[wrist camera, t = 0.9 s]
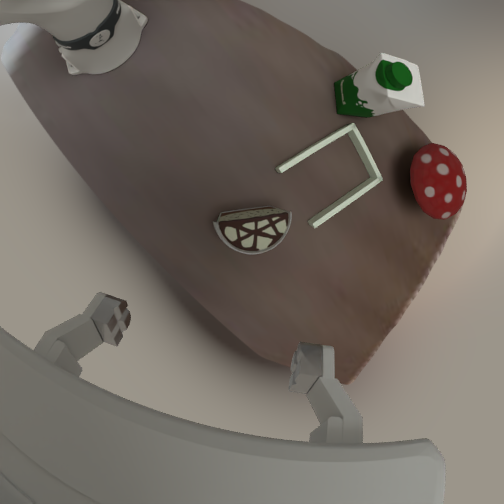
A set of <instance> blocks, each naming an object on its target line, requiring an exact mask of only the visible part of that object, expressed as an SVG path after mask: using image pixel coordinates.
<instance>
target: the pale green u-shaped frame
mask: <svg viewBox="0 0 504 504" xmlns="http://www.w3.org/2000/svg"><path fill="white" fill-rule="evenodd" d="M346 133H348V135H349V137H350V139H351V140H352V142H353V144H354V146H355V148H356V150H357V152H358V154H359V155H360V157H361V159H362V161H363V163H364V165H365V167H366V169H367V171H368V173H369V175H370V178H369V179H367V180H366V181H364V182H363V183H361V184H360V185H359V186H357V187H356V188H354V189H353V190H351V191H350V192H349V193H347V194H346V195H344V196H343V197H341V198H340V199H338V200H337V201H336V202H334V203H333V204H331V205H330V206H328V207H327V208H325V209H324V210H323V211H321V212H320V213H318V214H317V215H315V216H314V217H312V218H311V219H310V220H308V221H307V222H308V223H309V225H310V226H312V227H314V228H316V227H317V226H319V225H320V224H322V223H323V222H324V221H326V220H327V219H329V218H330V217H332V216H333V215H334V214H336V213H337V212H339V211H340V210H342V209H343V208H344V207H346V206H347V205H349V204H350V203H351V202H353V201H354V200H356V199H357V198H358V197H360V196H361V195H363V194H364V193H365V192H367V191H368V190H370V189H371V188H372V187H374V186H375V185H377V184H378V183H379V182H381V181H382V180H383V179H382V177H381V174H380V172H379V170H378V168H377V166H376V164H375V162H374V160H373V158H372V156H371V154H370V152H369V150H368V148H367V146H366V144H365V142H364V140H363V138H362V136H361V135H360V133H359V131H358V129H357V127H356V125H355V124H354V123H351V124H347V125H345V126H344V127H342V128H340V129H338V130H337V131H335V132H333V133H332V134H330V135H328V136H326V137H325V138H323V139H321V140H320V141H318V142H316V143H315V144H313V145H311V146H310V147H308V148H307V149H305V150H303V151H302V152H300V153H298V154H297V155H295V156H294V157H292V158H290V159H289V160H287V161H286V162H284V163H282V164H281V165H279V166H278V167H276V168H275V170H276V171H277V173H282V172H284V171H286V170H287V169H289V168H290V167H292V166H293V165H295V164H297V163H298V162H300V161H301V160H303V159H304V158H306V157H308V156H309V155H311V154H312V153H314V152H316V151H317V150H319V149H321V148H322V147H324V146H326V145H327V144H329V143H330V142H332V141H334V140H335V139H337V138H339V137H340V136H342V135H344V134H346Z"/></svg>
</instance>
